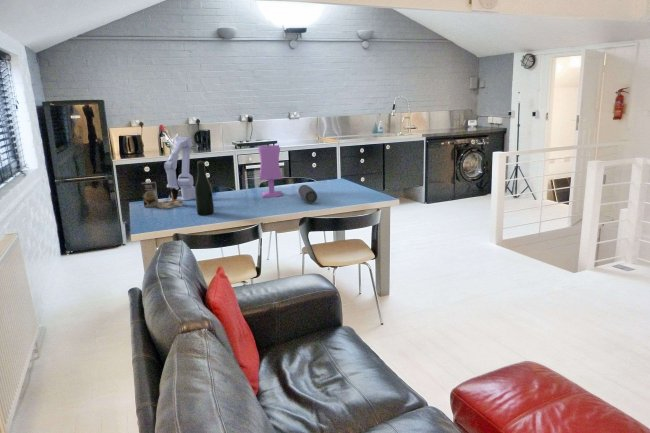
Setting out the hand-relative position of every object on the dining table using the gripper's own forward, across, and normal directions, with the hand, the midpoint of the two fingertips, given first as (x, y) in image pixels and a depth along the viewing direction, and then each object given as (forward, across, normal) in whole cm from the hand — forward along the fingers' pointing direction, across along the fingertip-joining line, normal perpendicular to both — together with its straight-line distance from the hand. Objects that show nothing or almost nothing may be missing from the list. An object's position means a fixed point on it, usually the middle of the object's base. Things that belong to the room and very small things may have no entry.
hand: (174, 198), depth 319 cm
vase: (+5, +26, +62) cm, 68 cm away
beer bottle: (+5, +39, +2) cm, 39 cm away
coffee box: (+5, -11, -12) cm, 17 cm away
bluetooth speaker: (+5, +62, +66) cm, 91 cm away
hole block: (+4, 0, -4) cm, 6 cm away
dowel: (+3, 0, 0) cm, 3 cm away
